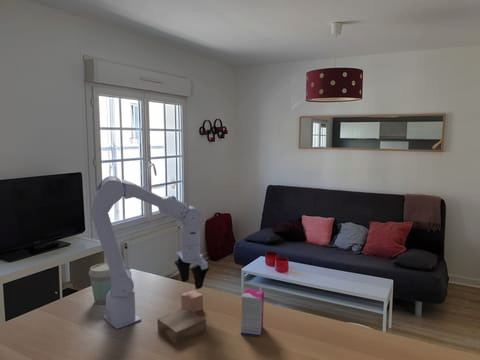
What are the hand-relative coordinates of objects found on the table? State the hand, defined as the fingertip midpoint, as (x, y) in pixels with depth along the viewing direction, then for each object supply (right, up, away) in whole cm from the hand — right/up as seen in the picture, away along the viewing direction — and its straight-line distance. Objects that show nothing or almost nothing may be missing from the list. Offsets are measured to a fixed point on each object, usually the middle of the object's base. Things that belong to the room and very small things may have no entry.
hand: (191, 284), depth 123 cm
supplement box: (+19, -10, -12) cm, 25 cm away
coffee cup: (-31, -8, +7) cm, 33 cm away
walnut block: (-1, -10, -13) cm, 16 cm away
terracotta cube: (0, -8, +1) cm, 8 cm away
